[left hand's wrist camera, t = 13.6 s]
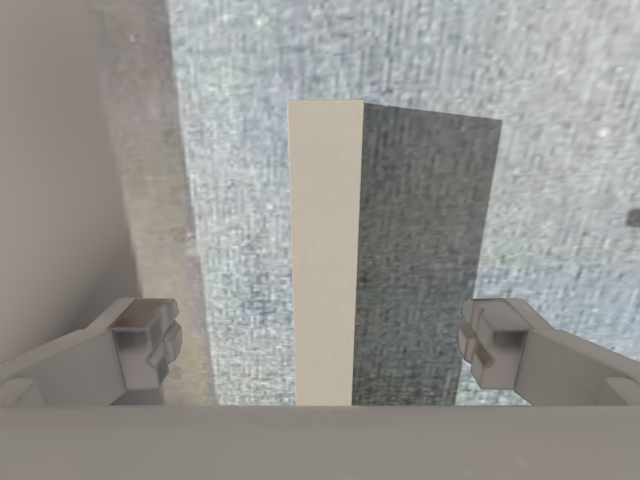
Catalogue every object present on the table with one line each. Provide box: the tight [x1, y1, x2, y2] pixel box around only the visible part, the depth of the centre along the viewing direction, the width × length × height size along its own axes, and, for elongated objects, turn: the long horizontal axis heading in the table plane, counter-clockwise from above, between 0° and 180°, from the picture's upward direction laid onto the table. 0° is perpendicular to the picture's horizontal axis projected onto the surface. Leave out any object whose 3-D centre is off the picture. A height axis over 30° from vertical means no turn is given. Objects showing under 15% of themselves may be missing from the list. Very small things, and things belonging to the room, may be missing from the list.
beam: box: [287, 100, 364, 406], centre depth 36 cm, size 57×5×9 cm, turn 0°
